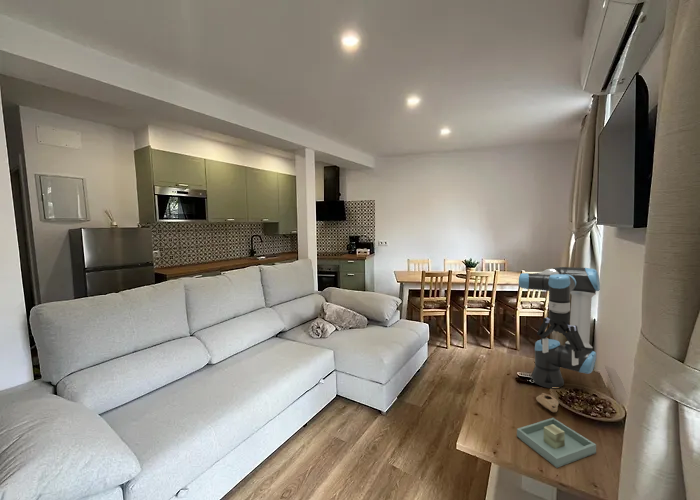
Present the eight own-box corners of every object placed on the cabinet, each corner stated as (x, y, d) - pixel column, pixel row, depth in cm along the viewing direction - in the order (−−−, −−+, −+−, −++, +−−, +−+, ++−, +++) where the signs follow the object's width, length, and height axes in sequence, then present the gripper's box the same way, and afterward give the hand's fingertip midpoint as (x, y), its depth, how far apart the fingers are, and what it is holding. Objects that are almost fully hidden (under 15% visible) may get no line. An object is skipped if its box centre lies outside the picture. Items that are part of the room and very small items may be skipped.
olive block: (552, 437, 128) (552, 424, 127) (564, 445, 123) (564, 431, 122) (543, 441, 126) (543, 427, 126) (555, 449, 121) (555, 434, 121)
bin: (552, 425, 136) (552, 417, 136) (596, 453, 119) (596, 444, 119) (516, 436, 130) (516, 428, 130) (556, 467, 113) (556, 458, 113)
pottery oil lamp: (545, 415, 142) (537, 399, 145) (540, 409, 153) (533, 394, 156) (565, 411, 140) (557, 394, 143) (559, 405, 151) (551, 390, 153)
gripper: (527, 305, 143) (528, 349, 145) (582, 320, 120) (582, 372, 122) (540, 302, 146) (540, 346, 148) (596, 317, 122) (596, 368, 124)
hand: (559, 358), depth 135 cm, fingers open, 13 cm apart
